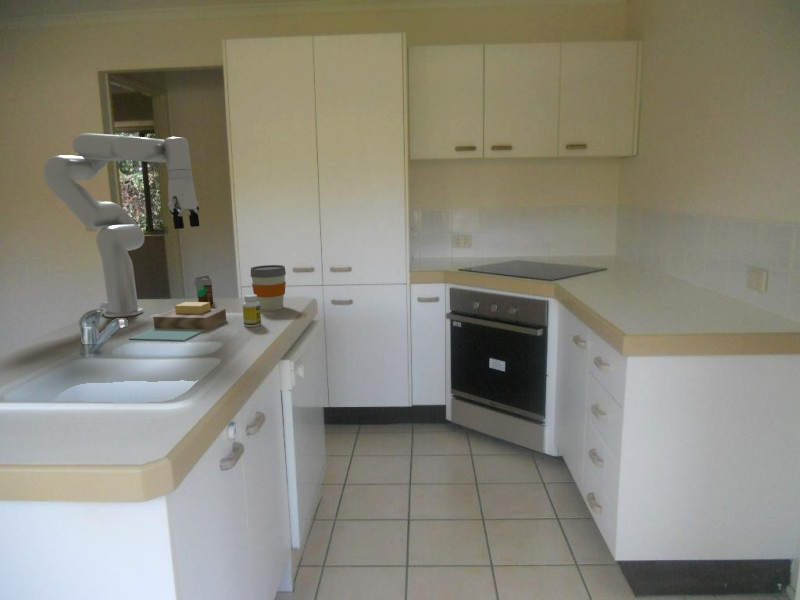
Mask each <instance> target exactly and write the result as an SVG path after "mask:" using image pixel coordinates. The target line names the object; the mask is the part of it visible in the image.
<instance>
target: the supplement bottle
mask: <svg viewBox="0 0 800 600" xmlns="http://www.w3.org/2000/svg"><path fill="white" fill-rule="evenodd" d="M243 297H244V302H243V303H242V315H243V326H244V327H246V328H254V327H255V328H256V327H259V326H261V325H262V315H261V313H262V312H261V311H262V310H260V303H259V302H258V301H257V295H255V294H254V293H253V294H245V295H243Z"/></svg>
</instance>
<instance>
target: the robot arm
mask: <svg viewBox="0 0 800 600" xmlns="http://www.w3.org/2000/svg"><path fill="white" fill-rule="evenodd" d="M189 148H190V147H189V141H188V139H186V138H185V137H182V136H181V137H178V136H171V137H167V138H165V139H160V138H153V137H152V138H150V137H142V136H141V137H140V136H125V135H124V136H123V135H119V134H105V133H104V134H103V133H86V132H85V133H80V134H77V136H74V138H73V140H72V149H73V151H74V152H75V154H77V155H70V154H69V155H64V154H60V155H53V156H51V157H49V158H47V160H46V161H45V163H44V164H43V165H44V166H43V176H44V180H45V182H46V184H47V186H48V187H49V189H50V190H51V191H52V192H53V193H54V195H55V196H57V198H59V199H60V201H62V202H63V203H64V204H65V206H67V208H68V209H69V211H71V212H72V213H73V214H74V216H75V217H77V219H78V220H79V221H80V223H82V224H83V226H85V227H86V228H87V229H89V230H99V231H98V232H97V234H96V237H95V238H96V239H95V241H96V245H97V249H98V251H99V255H100V258H101V262H102V269H103V277H104V283H105V284H104V286H105V293H106V299H107V301H106V302H103V301H102V302H101V303H100V305H99V309H105V311H104V313H103V315H104V317H106V318H126V317H132V316H137V315H140V314H142V313H144V308H143V307H139V304H138V296H137V287H136V280H135V272H134V270H135V269H134V264H133V261H132V258H131V256H130V254H129V252H128V251H133V250H137V249H139V248H141V247H142V246H143V244H145V234H144V230H143V229H142V228H141V227H140V225H139V224H138V223H137V222H136V221H135V220H134V219H133V218H132V217H131V216H130V215H129V213H128V212H127V211H126V210H125V209H124V208H123V207H122V206H120V205H119V204H118V203H116V202H112V201H99V200H97V199H96V198H95V197H94V196H93V195H92V194H91V193H90V192H89V190H88V189H87V188H85V187H84V186H82V185H81V184H79V183H77V181H89V180H92V179H94V178H95V177H96V176H97V175H98V174H99V173H100V172H101V171H102V170H103V169H104V168H105V167H106V166H107V164H109V162H110V161H114V162H115V161H116V162H121V161H135V162H136V161H137V162H146V163H147V162H149V163H165V164H166V168H167V169H166V170H167V177H168V184H167V193H168V203H167V206H168V209H169V212H170V213H171V217H172V220H173V227H174V229H175V230H179V229H185V224H184V223H185V222H184V217H183V216H182V213H183V211H187V212H188V213H189V215H188V218H189V226H190V227H191V228H193V227H194V228H195V227H196V228H197V227H200V219H199V213H200V212H199V210H200V201H199V200H198V199H197V195H196V189H195V186H194V181H193V180H194V178H193V177H194V176H193V172H192V171H193V170H192V164H191V163H192V162H191V155H190V149H189Z"/></svg>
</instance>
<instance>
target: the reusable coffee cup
mask: <svg viewBox="0 0 800 600" xmlns="http://www.w3.org/2000/svg"><path fill="white" fill-rule="evenodd" d="M286 274H287V272H286V267H285V265H282V264H281V265H279V264H266V265H257V266H252V267H250V277H251V280H252V283H251V286H252V290H253V292H252V293H253V294H255V295H257V301H258V302H259V303H260V311H266V310H268V311H277V310H280V309H283V308H284V297H285V294H286V286H287V285H286V284H287V283H286V282H287V281H286Z"/></svg>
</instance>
